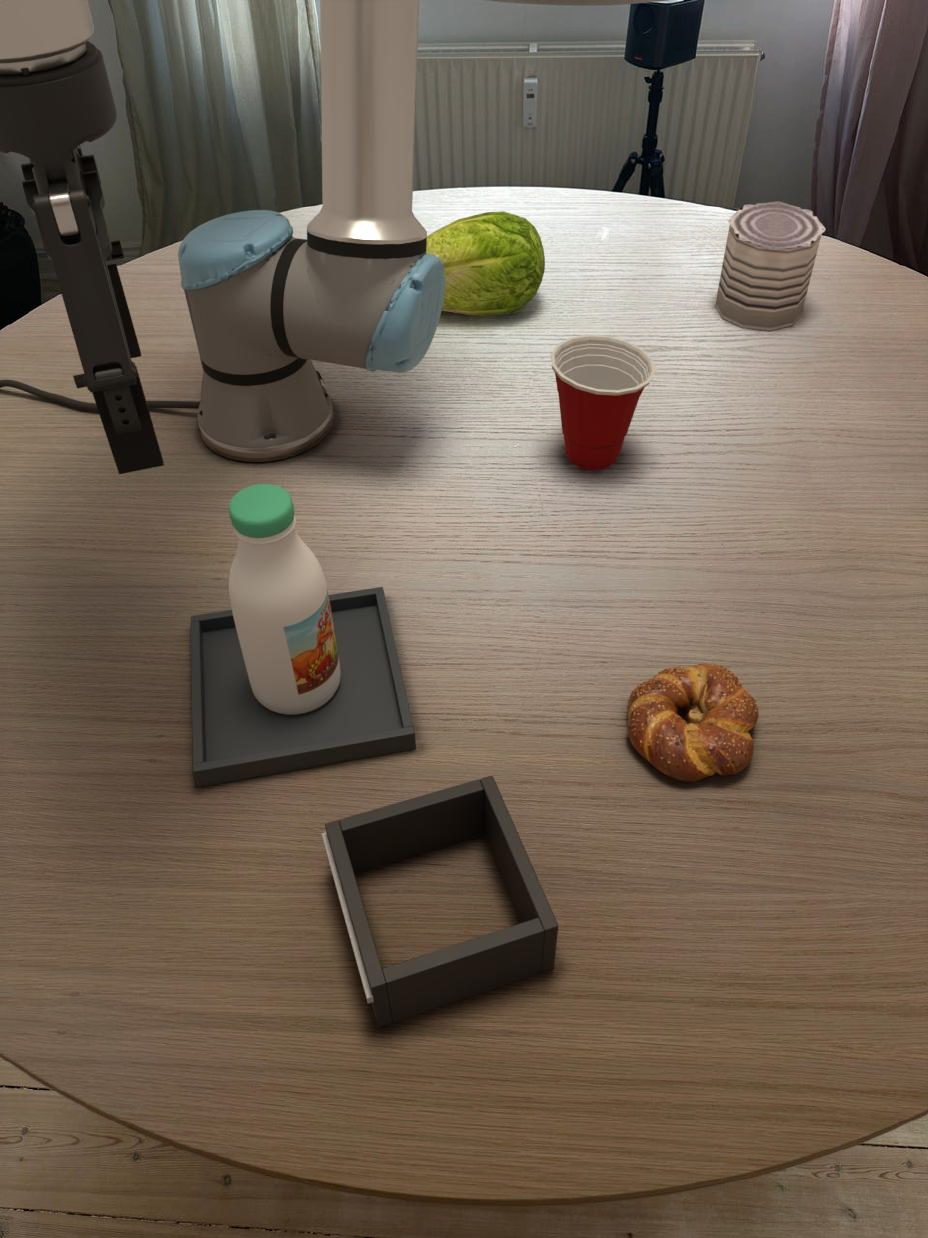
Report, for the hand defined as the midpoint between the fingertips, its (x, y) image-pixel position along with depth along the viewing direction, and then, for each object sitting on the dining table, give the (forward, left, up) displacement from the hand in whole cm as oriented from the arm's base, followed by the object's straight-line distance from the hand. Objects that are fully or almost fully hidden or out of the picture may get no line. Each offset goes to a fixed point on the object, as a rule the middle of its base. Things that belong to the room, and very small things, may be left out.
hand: (130, 408), depth 65 cm
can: (+18, +88, -29) cm, 94 cm away
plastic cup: (+13, +47, -29) cm, 57 cm away
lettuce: (-17, +69, -29) cm, 77 cm away
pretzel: (+37, +17, -29) cm, 50 cm away
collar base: (+28, -8, -29) cm, 41 cm away
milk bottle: (+6, +4, -28) cm, 29 cm away
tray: (+6, +4, -29) cm, 30 cm away
